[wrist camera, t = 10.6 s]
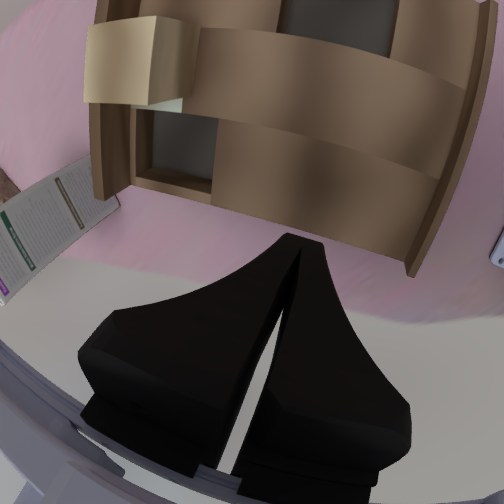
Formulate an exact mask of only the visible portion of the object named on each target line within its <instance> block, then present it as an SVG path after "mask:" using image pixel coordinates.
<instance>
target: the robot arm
mask: <svg viewBox="0 0 504 504" xmlns="http://www.w3.org/2000/svg"><path fill="white" fill-rule="evenodd" d="M500 258H502V259H501V260H500V261H499V259H500ZM490 260H491V262H492V263H493V264H494V265H497V266H499V267H502V268H504V231H503V233H502V235H501V237H500V239H499V241H498V242H497V244H496V246H495V248H494V250H493V252H492V254H491V256H490ZM282 310H283V313H282V318H281V323H280V327H279V332H278V337H277V341H276V345H275V349H274V354H273V358H272V362H271V366H270V369H269V372H268V376H267V378H266V381H265V384H264V387H263V390H262V392H261V395H260V398H259V401H258V404H257V406H256V409H255V412H254V415H253V417H252V420H251V423H250V425H249V428H248V431H247V433H246V436H245V438H244V441H243V444H242V446H241V449H240V451H239V454H238V456H237V459H236V461H235V464H234V467H233V469H232V471H231V474H230V475H229V474H226V473H224V472H221V471H218V470H216V469H217V467H218V464H219V462H220V460H221V457H222V455H223V452H224V449H225V447H226V444H227V442H228V439H229V437H230V434H231V432H232V429H233V427H234V424H235V422H236V419H237V416H238V414H239V411H240V409H241V406H242V403H243V401H244V398H245V395H246V393H247V390H248V387H249V385H250V382H251V379H252V377H253V374H254V371H255V369H256V366H257V364H258V361H259V359H260V357H261V355H262V353H263V351H264V349H265V346H266V344H267V342H268V340H269V338H270V336H271V334H272V332H273V329H274V327H275V325H276V323H277V321H278V319H279V317H280V314H281V312H282ZM78 361H79V364H80V366H81V369H82V371H83V373H84V375H85V376H86V378H87V380H88V382H89V383H90V385H91V387H92V389H93V390H94V392H95V393H94V394H93V396H92V397H91V399H90V400H89V402H88V403H87V405H86V406H85V405H84V404H82V403H81V402H79V401H77V400H76V399H75V398H73V397H72V396H70V395H68V394H67V393H66V392H64V391H63V390H62V389H60V388H59V387H57V386H56V385H55V384H53V383H52V382H51V381H49V380H48V379H47V378H45V377H44V376H43V375H42V374H40V373H39V372H38V371H36V370H35V369H34V368H33V367H31V366H30V365H29V364H28V363H26V362H25V361H24V360H23V359H22V358H21V357H20V356H18V355H17V354H16V353H15V352H14V351H13V350H12V349H10V348H9V347H8V346H7V345H6V344H5V343H4V342H3V341H2V340H1V339H0V451H1V453H2V454H3V455H4V457H5V458H6V459H7V460H8V461H9V462H10V463H11V465H12V466H13V467H14V468H15V469H16V470H17V471H18V472H19V473H20V474H21V475H22V476H23V477H24V478H25V479H26V480H27V483H26V484H25V486H24V487H23V489H22V491H21V493H20V494H19V496H18V498H17V499H16V501H15V502H14V504H176V503H174V502H171V501H169V500H167V499H165V498H162V497H160V496H158V495H156V494H153V493H151V492H149V491H147V490H145V489H143V488H141V487H139V486H137V485H135V484H133V483H131V482H129V481H127V480H125V479H123V476H124V474H125V470H124V469H123V468H122V467H120V466H119V465H117V464H116V463H115V462H113V460H111V459H110V458H109V457H108V456H107V455H106V453H105V451H104V450H102V449H100V448H99V447H98V446H96V445H95V444H93V443H92V442H91V441H89V440H88V439H87V438H85V437H84V436H83V435H81V434H80V433H79V432H78V430H79V431H81V432H82V433H84V434H85V435H87V436H88V437H90V438H91V439H93V440H94V441H96V442H98V443H99V444H101V445H102V446H104V447H106V448H107V449H109V450H111V451H113V452H114V453H116V454H118V455H120V456H121V457H123V458H125V459H127V460H129V461H130V462H132V463H134V464H136V465H138V466H140V467H142V468H144V469H146V470H148V471H150V472H152V473H154V474H156V475H159V476H161V477H163V478H165V479H167V480H169V481H172V482H174V483H177V484H179V485H181V486H184V487H186V488H189V489H191V490H194V491H196V492H199V493H202V494H204V495H207V496H210V497H213V498H216V499H219V500H221V501H225V502H228V503H231V504H377V503H369V498H370V492H371V487H374V486H376V484H377V482H378V475H379V471H381V470H383V469H384V468H386V467H388V466H390V465H392V464H394V463H395V462H397V461H399V460H400V459H401V458H402V457H404V456H405V455H406V454H407V453H408V452H409V450H410V448H411V433H412V422H411V415H410V414H411V413H410V405H409V403H408V402H407V401H406V400H405V399H404V398H403V397H402V396H401V394H400V393H399V392H398V391H397V390H396V389H395V388H394V386H393V385H392V384H391V383H390V382H389V381H388V380H387V378H386V377H385V376H384V374H383V373H382V372H381V371H380V369H379V368H378V367H377V366H376V364H375V363H374V361H373V360H372V358H371V357H370V355H369V354H368V352H367V351H366V349H365V348H364V346H363V345H362V343H361V341H360V340H359V338H358V337H357V335H356V333H355V332H354V330H353V328H352V326H351V324H350V322H349V320H348V318H347V316H346V314H345V312H344V309H343V307H342V305H341V302H340V300H339V297H338V295H337V292H336V290H335V287H334V284H333V281H332V278H331V275H330V271H329V268H328V264H327V260H326V255H325V250H324V245H323V244H322V243H321V242H317V241H314V240H311V239H307V238H304V237H301V236H297V235H294V234H290V233H285V234H283V235H282V236H281V237H280V238H279V239H278V240H277V241H276V242H275V243H274V244H273V245H272V246H270V247H269V248H268V249H267V250H265V251H264V252H263V253H262V254H260V255H259V256H258V257H256V258H255V259H253V260H252V261H251V262H249V263H247V264H246V265H244V266H243V267H241V268H240V269H238V270H237V271H235V272H233V273H231V274H230V275H228V276H226V277H224V278H222V279H220V280H218V281H216V282H214V283H212V284H210V285H207V286H205V287H203V288H200V289H198V290H195V291H193V292H190V293H187V294H184V295H181V296H178V297H175V298H171V299H168V300H164V301H160V302H157V303H152V304H147V305H142V306H137V307H132V308H126V309H120V310H114V311H113V312H112V313H111V314H110V315H109V316H108V317H107V318H106V319H105V320H104V321H103V322H102V323H101V324H100V325H99V326H98V327H97V329H96V330H95V331H94V332H93V333H92V335H91V336H90V337H89V338H88V340H87V341H86V342H85V343H84V344H83V346H82V347H81V348H80V349H79V351H78ZM77 429H78V430H77ZM378 504H379V503H378ZM438 504H504V490H501V491H498V492H496V493H494V494H492V495H489V496H487V497H486V498H484V499H478V500H471V501H463V502H452V503H438Z"/></svg>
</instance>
